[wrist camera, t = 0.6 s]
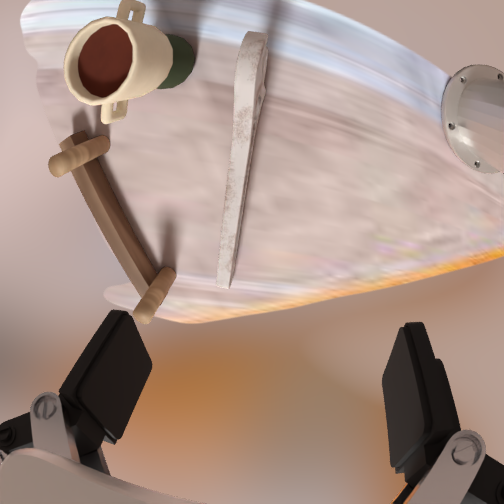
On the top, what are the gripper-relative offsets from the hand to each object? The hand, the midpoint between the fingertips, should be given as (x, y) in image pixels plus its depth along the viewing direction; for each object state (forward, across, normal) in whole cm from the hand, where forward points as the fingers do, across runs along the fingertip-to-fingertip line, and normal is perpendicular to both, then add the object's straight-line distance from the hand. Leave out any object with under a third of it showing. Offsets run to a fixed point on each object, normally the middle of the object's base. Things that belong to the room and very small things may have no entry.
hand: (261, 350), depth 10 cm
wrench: (+26, +5, +2) cm, 26 cm away
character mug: (+26, +12, -12) cm, 31 cm away
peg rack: (+26, +22, +6) cm, 34 cm away
